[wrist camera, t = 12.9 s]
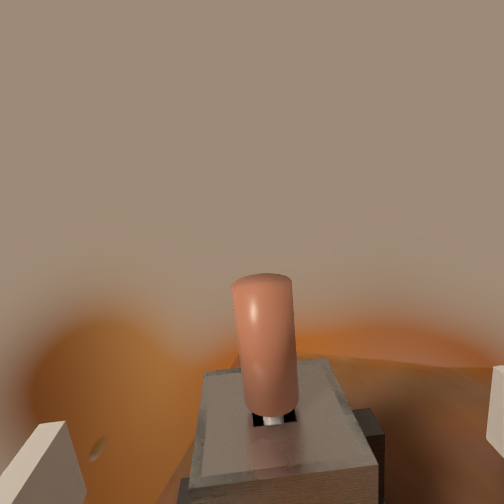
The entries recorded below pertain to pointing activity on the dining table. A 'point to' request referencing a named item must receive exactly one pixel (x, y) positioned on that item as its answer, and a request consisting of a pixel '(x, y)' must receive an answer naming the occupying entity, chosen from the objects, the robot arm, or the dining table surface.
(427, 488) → the dining table surface
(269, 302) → the salmon orange cylinder
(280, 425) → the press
